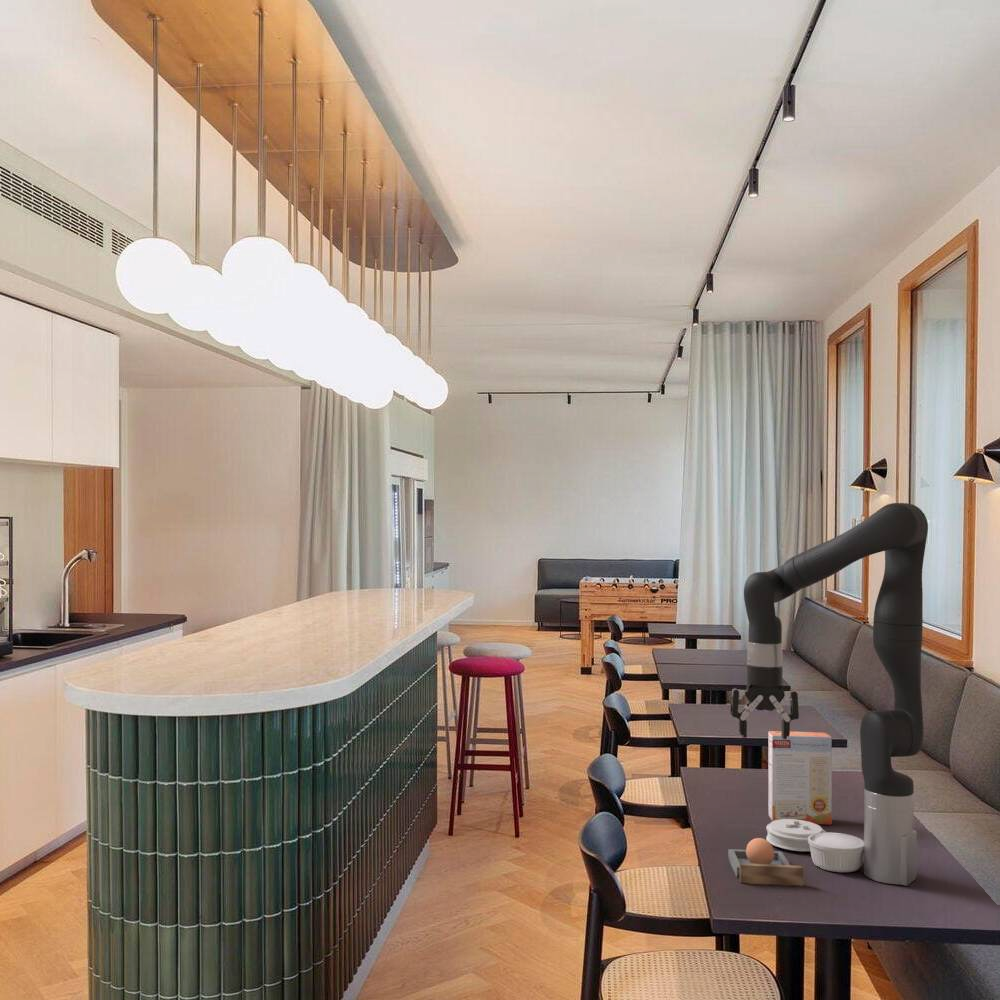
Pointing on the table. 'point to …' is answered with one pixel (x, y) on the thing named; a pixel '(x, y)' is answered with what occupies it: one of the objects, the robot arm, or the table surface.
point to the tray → (741, 857)
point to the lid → (791, 833)
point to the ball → (760, 851)
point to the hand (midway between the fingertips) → (763, 737)
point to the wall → (771, 874)
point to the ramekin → (836, 851)
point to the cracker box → (800, 777)
